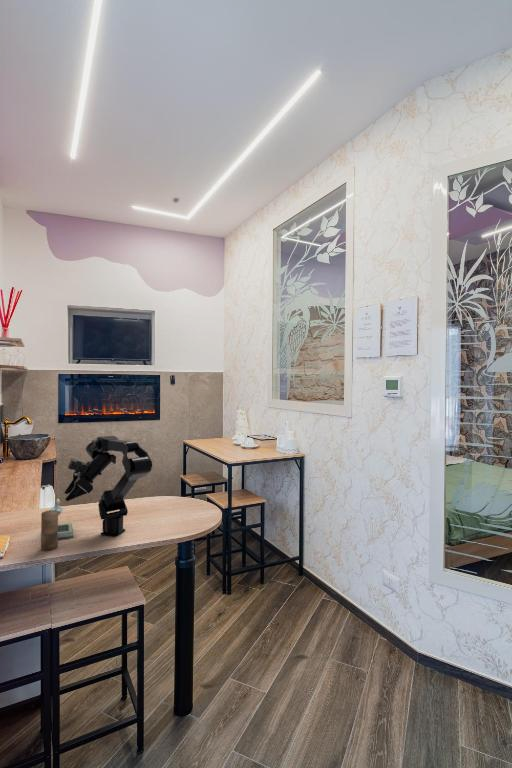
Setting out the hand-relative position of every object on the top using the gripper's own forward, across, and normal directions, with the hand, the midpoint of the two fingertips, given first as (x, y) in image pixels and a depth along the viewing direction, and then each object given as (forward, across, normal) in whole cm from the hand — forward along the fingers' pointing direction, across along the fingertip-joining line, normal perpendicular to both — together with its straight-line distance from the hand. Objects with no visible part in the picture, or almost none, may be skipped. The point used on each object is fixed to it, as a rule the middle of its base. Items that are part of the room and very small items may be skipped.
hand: (65, 496), depth 159 cm
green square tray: (+11, +3, +7) cm, 13 cm away
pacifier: (+12, -22, +7) cm, 25 cm away
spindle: (+13, +15, +5) cm, 20 cm away
